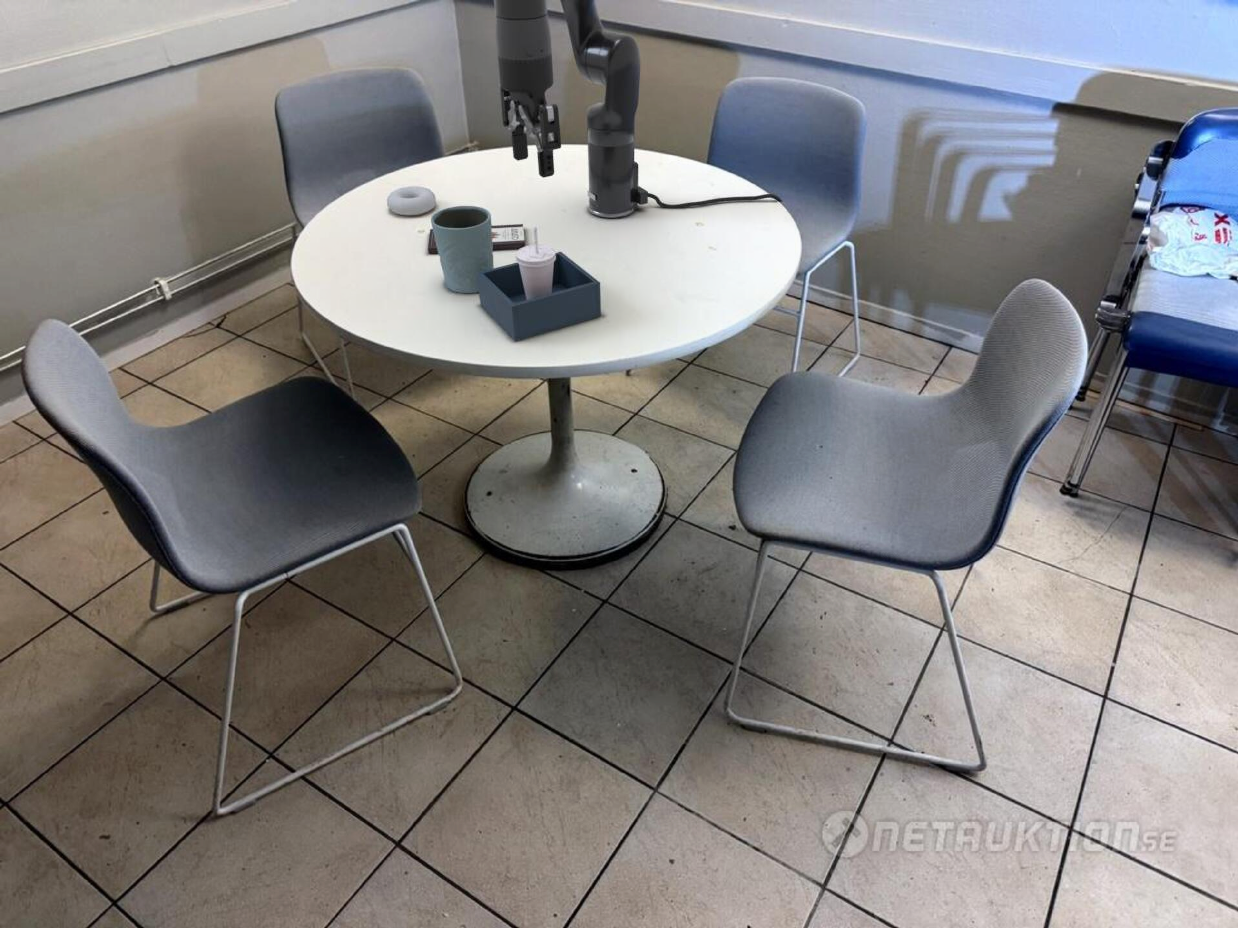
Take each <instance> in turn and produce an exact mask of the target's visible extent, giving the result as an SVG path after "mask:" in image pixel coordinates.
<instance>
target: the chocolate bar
mask: <svg viewBox="0 0 1238 928" xmlns="http://www.w3.org/2000/svg"><path fill="white" fill-rule="evenodd" d="M491 229H492V243H493V250H492V251H494V250H495V251H496V250H497V251H498V250H513V249H514V250H515V249H521V248H523V247H525V246H526V242H525V232H524V231H525V230H524V224H523V223H517V224H516V223H515V224H500V225H496V224H495V225H492V228H491ZM427 252H428V254H438V249H437V245H436V241H435V236H434V232H433V228H430V229H429V236H428V245H427Z"/></svg>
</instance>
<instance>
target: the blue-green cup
mask: <svg viewBox="0 0 1238 928" xmlns="http://www.w3.org/2000/svg"><path fill="white" fill-rule="evenodd" d="M430 223H431V229H433V232H434V236H435V241H436V245H437V249H438V253H437V254H438V256H439V263H440V266H441V270H442V273H443V274H442V275H443V278H444V283H445V286H446V288H447V289H448V290H450V291H451V292H455V293H458V294H475V293H479V287H478V279H477V273H478V272H481V271H485V270H489V269H493V268H495V266H494V265H495V264H494V253H493V251H494V250H493V243H492V229H491V228H492V226H493V225H492V214H491V212H490V211H489V210H488V209H486V208H484V207H480V206H477V205H476V206H475V205H456V206H450V207H446V208H444V209H443V208H442V209H440V210H438V211H436V212H434V213H433V215H431V217H430Z"/></svg>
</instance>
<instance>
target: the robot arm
mask: <svg viewBox="0 0 1238 928" xmlns="http://www.w3.org/2000/svg"><path fill="white" fill-rule="evenodd" d="M547 1H548V0H493V3H494V5H493V6H494V13H495V45H496V54H497V65H498V73H499V84H500V86H499V89H500V90H499V92H500V104H501V117H502V118H501V119H502V125H503V127H504V128H507V130H508V133H509V135H511V145H512V157H513V159H514V160H516V161H519V162H520V161H523V160H527V159H528V158H529V148H528V147H529V146H528V137H527V135H528V136H529V138H531V139H533V141H534V144H535V147H536V149H537V151H536V152H537V165H538V167H537V168H538V176H540V177H541V178H549V177H552V176H554V174H555V161H554V160H555V159H554V151H555V150H559V149H560V150H561V148H562V137H561V127H560V126H561V125H560V113H559V107H558V105H557V104H556V103H554V104H548V102H547V99H546V92H547V90H549V89H550V88H551V87H553V85H554V71H553V70H554V69H553V67H554V66H553V51H552V36H551V35H552V34H551V27H550V23H549V16H548V15H549V14H548V4H547V3H548V2H547ZM560 4H561V7H562V11H563V14H564V18H565V21H566V26H567V31H568V34H569V40H570V43H571V48H572V53H573V57H574V61H575V65H576V67H577V70H578V72H579V74H580V75H581V77H582V78H583V79H584V80H585V81H587V82H588V83H591V84H593V85H598V86H601V87H605V91H604V93H605V94H604V100H603V101H599V102H597V103H594V104H592V105H591V106H589V107H588V108H587V111H586V127H587V128H586V130H587V131H586V133H587V134H586V135H587V168H588V171H587V172H588V190H587V197H588V211H589V212H590V214H592V215H594V216H596V217H600V218H601V217H602V218H605V219H606V218H607V219H608V218H609V219H610V218H611V219H613V218H615V219H616V218H622V217H627V216H629V215H631V214H633V212H635V211H637V210H639V205H640V206H642V205H646V204H648V203H649V202H648V201H649V198H651V199H653V200H654V201H655V202H656V204H657V205H658V206H659V207H662V208H665V209H683V208H689V207H699V206H705V205H711V204H716V203H723V202H739V201H741V202H742V201H743V202H745V201H758V200H763V199H773V200H775V201H776V202H778V203H782V202H783V200H782V198H781V197H780V196H779V195H776V194H773V193H765V194H760V195H750V196H749V195H747V196H746V195H743V196H725V197H717V198H712V199H706V200H705V199H704V200H699V201H689V202H684V203H677V204H670V203H669V204H668V203H664V202H662V200H661V199H660V198H659V197H658V196H657V195H656V194H653V193H650V192H649V191H648V190H646V189H644V188H643V187H642V186H640V185H639V163H638V162H637V161H635V132H636V131H635V124H636V123H635V122H636V121H635V120H636V113H637V111H638V107H639V99H640V97H639V96H640V81H641V80H640V79H641V66H642V65H641V64H642V63H641V61H642V60H641V50H640V47H639V44H638V42H637V40H636V38H635V37H634V36H632V35H629V34H626V33H622V32H621V33H620V32H617V31H610V30H606V29H605V28H604V26H603V23H602V21H601V18H600V15H599V12H598V7H597V1H596V0H560ZM526 131H527V133H528V134H527V133H526ZM552 133H553V134H552Z"/></svg>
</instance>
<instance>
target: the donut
mask: <svg viewBox="0 0 1238 928" xmlns="http://www.w3.org/2000/svg"><path fill="white" fill-rule="evenodd" d="M436 204H437V198H436V195H435V193H434V192H433V191H432V190H431V189H429V188H427V187H424V186H417V185H415V186H414V185H411V186H404V187H400V188H396V189H394V190H392V191H391V192H390V193H389V194H388V196H387V198H386V205H387V208H388V209H389V210H390V211H391V212H392V213H394V214H396V215H401V216H418V215H422V214H423V215H424V214H425V213H427V212H430V211H431V210H433V208H434V207H435V206H436Z"/></svg>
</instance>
